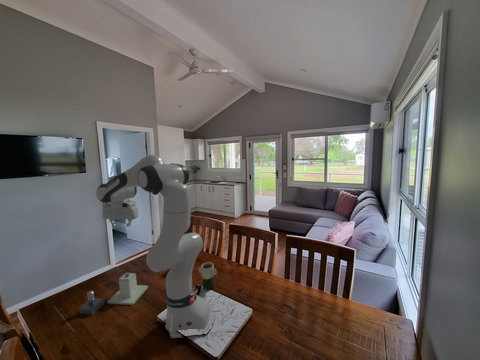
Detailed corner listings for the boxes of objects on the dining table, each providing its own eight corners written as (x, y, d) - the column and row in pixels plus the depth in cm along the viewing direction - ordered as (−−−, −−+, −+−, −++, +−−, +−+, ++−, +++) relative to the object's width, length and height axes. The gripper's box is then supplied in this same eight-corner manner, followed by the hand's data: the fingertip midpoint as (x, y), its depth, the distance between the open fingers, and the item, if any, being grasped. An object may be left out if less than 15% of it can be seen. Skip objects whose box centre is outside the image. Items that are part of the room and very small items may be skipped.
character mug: (219, 284, 117) (218, 263, 115) (215, 292, 110) (214, 269, 108) (202, 281, 119) (201, 261, 118) (196, 289, 112) (195, 267, 111)
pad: (148, 287, 116) (148, 285, 115) (132, 305, 102) (132, 303, 102) (125, 286, 117) (125, 284, 117) (107, 303, 103) (107, 301, 103)
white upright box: (137, 289, 112) (135, 271, 111) (130, 297, 106) (128, 277, 105) (127, 289, 113) (125, 271, 111) (120, 296, 107) (118, 277, 106)
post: (104, 304, 103) (102, 287, 102) (92, 314, 96) (90, 297, 95) (91, 303, 104) (89, 287, 103) (79, 313, 97) (77, 296, 96)
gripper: (98, 204, 114) (101, 227, 115) (131, 204, 111) (134, 228, 113) (107, 201, 120) (109, 224, 122) (138, 201, 118) (140, 224, 119)
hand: (121, 226), depth 117 cm, fingers open, 8 cm apart
